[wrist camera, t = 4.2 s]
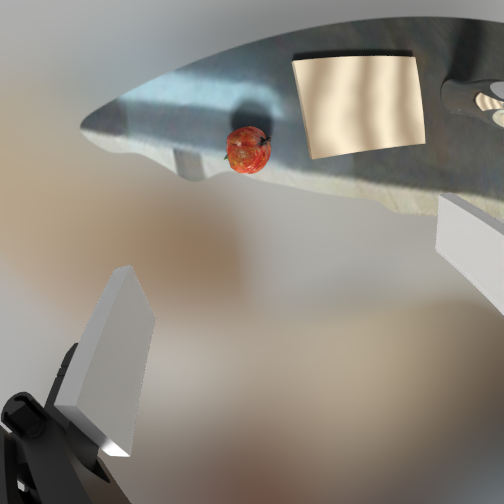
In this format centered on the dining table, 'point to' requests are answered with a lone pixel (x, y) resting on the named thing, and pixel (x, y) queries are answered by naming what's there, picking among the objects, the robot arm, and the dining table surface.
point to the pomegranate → (248, 149)
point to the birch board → (359, 103)
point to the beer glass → (475, 99)
